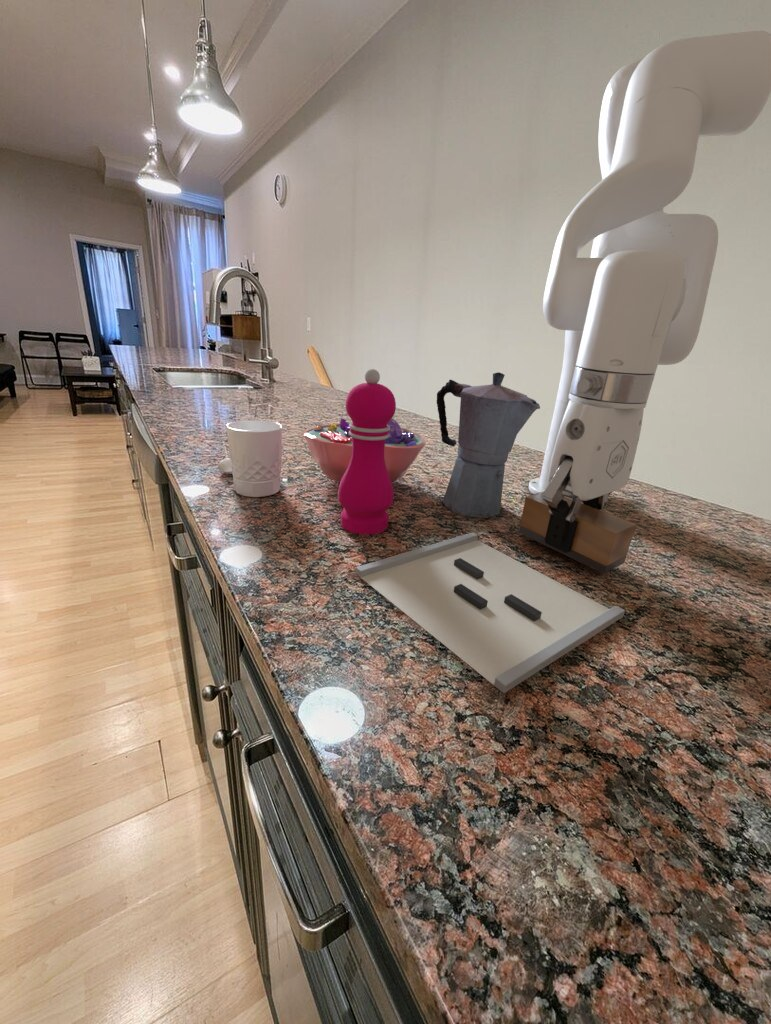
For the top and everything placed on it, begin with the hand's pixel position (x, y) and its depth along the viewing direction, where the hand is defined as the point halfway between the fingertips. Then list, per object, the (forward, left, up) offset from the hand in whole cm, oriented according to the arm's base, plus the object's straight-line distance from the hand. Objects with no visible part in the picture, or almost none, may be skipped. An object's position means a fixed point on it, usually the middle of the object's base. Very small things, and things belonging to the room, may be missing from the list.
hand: (570, 540), depth 54 cm
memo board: (+16, +1, -2) cm, 16 cm away
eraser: (0, 0, -1) cm, 1 cm away
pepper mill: (+17, -19, -2) cm, 26 cm away
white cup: (+24, -38, -2) cm, 45 cm away
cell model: (+7, -34, -2) cm, 35 cm away
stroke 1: (+14, -3, -2) cm, 14 cm away
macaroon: (+25, -47, -2) cm, 54 cm away
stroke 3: (+15, +5, -2) cm, 16 cm away
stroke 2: (+18, +1, -2) cm, 18 cm away
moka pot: (-1, -17, -2) cm, 18 cm away
